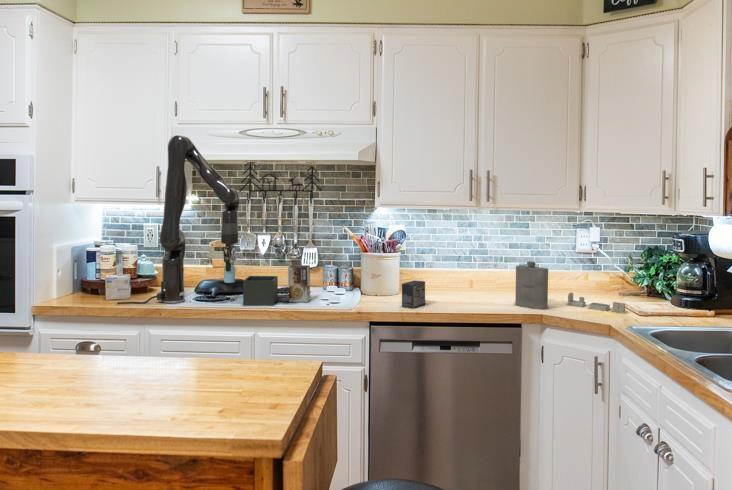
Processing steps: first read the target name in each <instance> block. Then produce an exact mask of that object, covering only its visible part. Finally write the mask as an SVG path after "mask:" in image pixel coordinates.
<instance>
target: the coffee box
mask: <svg viewBox="0 0 732 490" xmlns="http://www.w3.org/2000/svg"><path fill="white" fill-rule="evenodd" d="M287 275H288V277H287V280H288V281H287V283H288V303H308V302H310V301H311V265H309V264H307V265H306V264H304V265H301V264H298V265H295V264H291V265H290V266H288V267H287Z"/></svg>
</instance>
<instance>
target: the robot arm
mask: <svg viewBox="0 0 732 490" xmlns="http://www.w3.org/2000/svg"><path fill="white" fill-rule="evenodd" d="M186 161H187V162H188V163H189V164H190V165H191V166H192V167H193V168H194V169H195V171H196V173H197V174H198V176H199V177H200V178H201V179H202V181H203V182H204V183H205V184H206V185H207V186H208V187H209V188H210V190H212V191H213V192H214V194H215V195H216V197H217V198H218V199H219V200H220V202H222V203H223V207H224V208H223V210H222V211H221V226H220V243H221V244H223V245H224V244H225V246H224V248H223V249H222V252H223V253H222V255H223V262H224V263H225V266H226V271H231V260H233V266H235V265H234V262H235V260H236V251H237V250H236V249H237V246H236V245H235V244H238V243H239V213H238V211H239V206H240V200H241V199H240V193H239V191H238V190H237V189H235V188H231V187H230V186H229V184H227V183H226V181H225V179H224V177H223V176H222V175H221V174H220V173H219V172H218V171H217V170H216V169H215V168H214V167H213V166H212V165H211V164H210V163H209V162H208V161H207V160H206V159H205V157H203V155H202V154H201V152H200V151H199V150H198V149H197V147H196V145H195V144H194V143H193V141H192V140H191V138H189V137H188V136H185V135H178V134H177V135H173V136H172V137H170V138H169V141H168V143H167V171H166V172H167V173H166V182H165V190H164V204H163V219H162V224H161V230H160V235H159V244H160V245H161V247H162V248H163V249H164V254H163V256H162V259H161V262H162V263H161V264H162V265H161V269H162V270H161V271H162V273H161V274H162V280H161V281H160V291H159V292H157V293H156V295H154V296H152V297H149V298H148V299H147V300H145V301H118V302H117V305H124V304H125V305H127V304H128V305H129V304H137V305H143V304H147V303H149V302H150V301H151V300H153V299H156V301H160V303H164V304H178V303H183V302H185V293H186V292H185V257H186V236H185V233H184V231H182V229H180V223H181V218H182V214H183V212H184V209H185V206H186V202H187V195H188V182H187V176H186V172H185V163H186Z"/></svg>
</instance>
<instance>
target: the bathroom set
mask: <svg viewBox="0 0 732 490" xmlns="http://www.w3.org/2000/svg"><path fill="white" fill-rule="evenodd" d="M586 304H587V302H586V301H585V297H584V296H579V297H578V300H574V292H569V293H568V294H567V306H572V307H580V308H582V307H583V308H584V307H585V306H587V305H586ZM588 309H591V310H598V311H603V312H604V311H606V312H607V311H609V310H610V309H611V304H607V303H599V302H591V303H589V304H588ZM612 312H613V313H620V314H626V303H624V302H618V301H617V302H616V301H613V302H612Z"/></svg>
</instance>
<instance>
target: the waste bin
mask: <svg viewBox="0 0 732 490" xmlns="http://www.w3.org/2000/svg"><path fill="white" fill-rule="evenodd" d="M278 278H279V275H248V276H247V277H246V278H245V279H244V280H242V305H243V306H257V307H258V306H260V307H261V306H266V307H267V306H268V307H269V306H274V305H275V304H276V302H277V301H278V299H279V296H278V295H279V294H278V293H279V290H278V289H279V287H278V286H279V285H278V284H279V282H278V281H279V279H278Z"/></svg>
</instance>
